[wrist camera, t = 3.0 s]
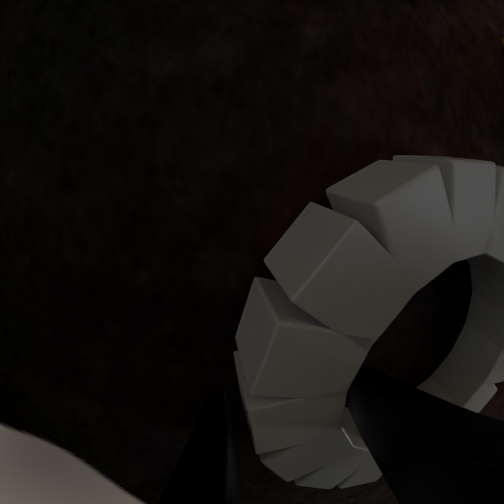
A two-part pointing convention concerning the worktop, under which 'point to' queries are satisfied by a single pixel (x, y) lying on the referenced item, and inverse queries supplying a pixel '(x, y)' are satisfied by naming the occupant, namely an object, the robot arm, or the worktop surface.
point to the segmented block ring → (367, 307)
